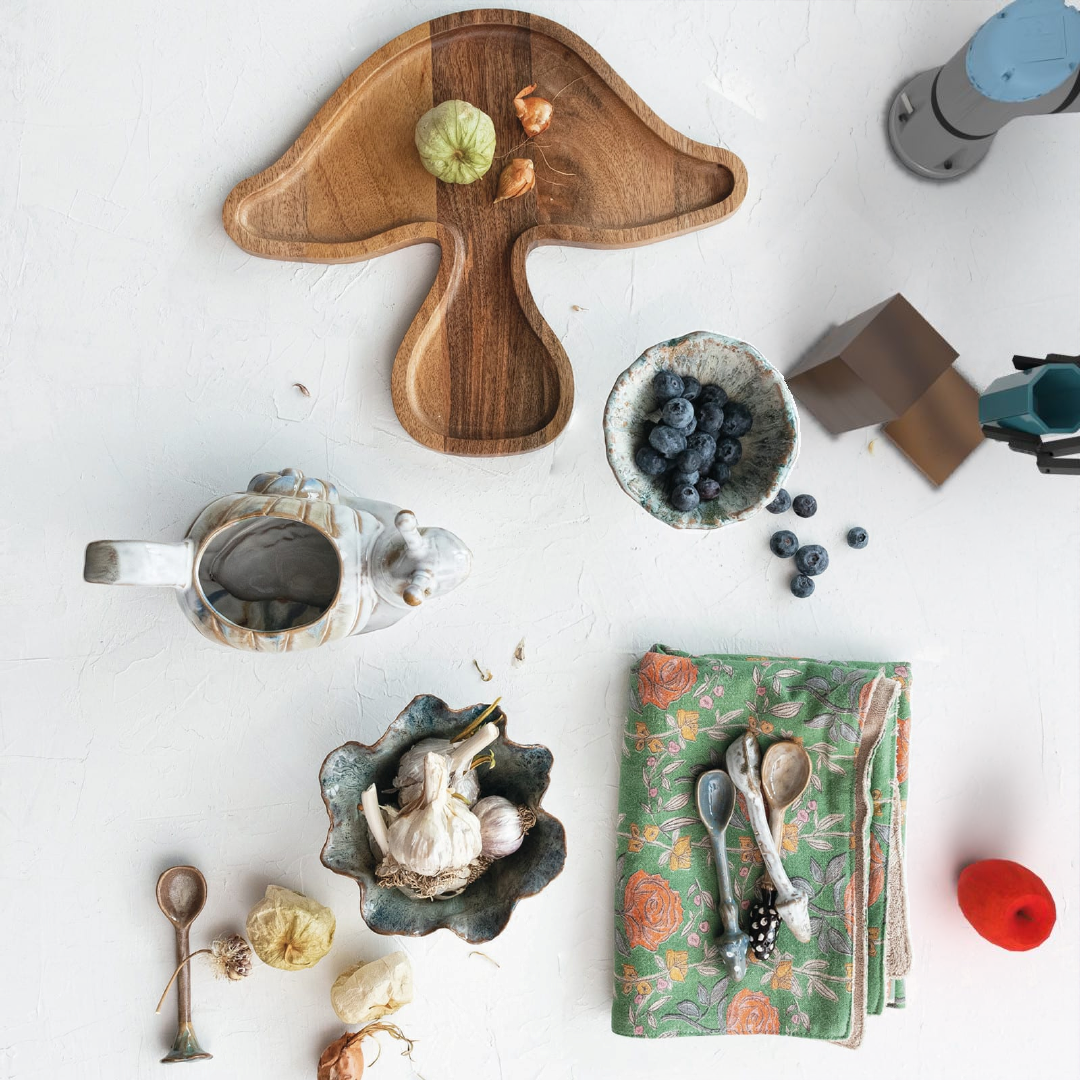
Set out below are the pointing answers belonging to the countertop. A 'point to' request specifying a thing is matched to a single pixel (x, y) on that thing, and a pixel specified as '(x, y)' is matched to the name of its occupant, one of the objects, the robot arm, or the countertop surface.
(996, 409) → the cup
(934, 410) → the mat
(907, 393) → the block
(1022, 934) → the apple
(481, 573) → the countertop surface
